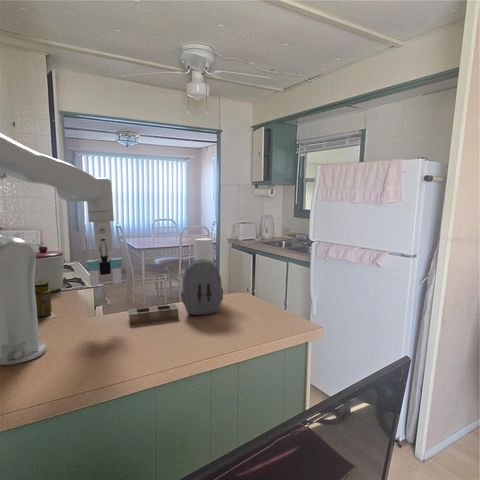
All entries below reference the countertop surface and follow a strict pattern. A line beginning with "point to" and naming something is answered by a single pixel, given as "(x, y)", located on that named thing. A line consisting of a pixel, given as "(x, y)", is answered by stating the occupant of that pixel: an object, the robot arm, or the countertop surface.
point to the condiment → (43, 301)
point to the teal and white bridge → (94, 267)
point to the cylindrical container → (204, 249)
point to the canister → (49, 268)
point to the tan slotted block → (153, 314)
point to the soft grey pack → (202, 288)
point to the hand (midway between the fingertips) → (105, 272)
